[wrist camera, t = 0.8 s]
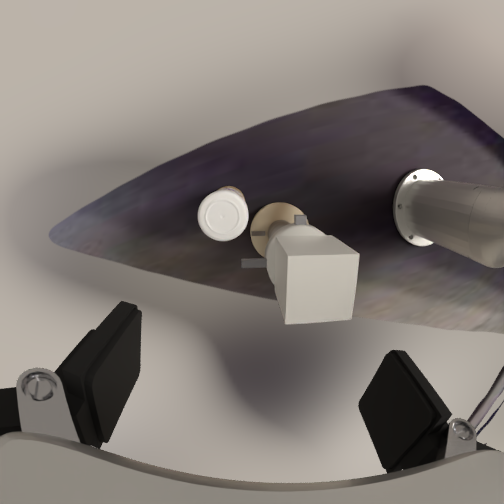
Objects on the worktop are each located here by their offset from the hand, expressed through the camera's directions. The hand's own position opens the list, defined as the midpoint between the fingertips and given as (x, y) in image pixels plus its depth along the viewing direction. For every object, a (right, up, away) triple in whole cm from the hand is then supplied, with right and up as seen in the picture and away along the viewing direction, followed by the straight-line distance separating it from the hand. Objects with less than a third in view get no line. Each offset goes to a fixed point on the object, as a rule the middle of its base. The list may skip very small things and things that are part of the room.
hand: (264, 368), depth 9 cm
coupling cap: (+3, +4, +17) cm, 18 cm away
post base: (+3, +7, +29) cm, 30 cm away
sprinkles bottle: (-4, +11, +28) cm, 30 cm away
